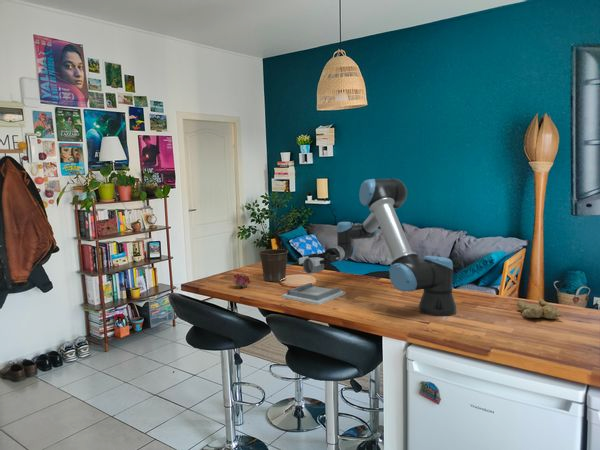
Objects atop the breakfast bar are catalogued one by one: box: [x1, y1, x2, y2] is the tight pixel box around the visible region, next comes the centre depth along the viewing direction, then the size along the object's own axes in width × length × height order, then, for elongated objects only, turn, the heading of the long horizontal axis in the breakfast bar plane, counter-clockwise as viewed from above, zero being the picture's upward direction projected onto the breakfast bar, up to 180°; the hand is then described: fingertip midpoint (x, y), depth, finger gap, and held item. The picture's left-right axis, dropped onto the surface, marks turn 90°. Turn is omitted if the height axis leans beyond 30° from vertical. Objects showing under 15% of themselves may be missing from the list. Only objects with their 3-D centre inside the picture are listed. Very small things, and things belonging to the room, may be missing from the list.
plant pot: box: [258, 248, 289, 283], centre depth 250 cm, size 16×16×16 cm
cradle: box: [281, 282, 346, 306], centre depth 217 cm, size 22×22×3 cm
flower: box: [233, 273, 251, 290], centre depth 235 cm, size 10×9×8 cm
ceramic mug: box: [302, 257, 326, 275], centre depth 217 cm, size 11×8×8 cm
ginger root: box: [516, 297, 564, 320], centre depth 180 cm, size 16×16×8 cm
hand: (307, 262), depth 212 cm, fingers closed on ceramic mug, 8 cm apart
